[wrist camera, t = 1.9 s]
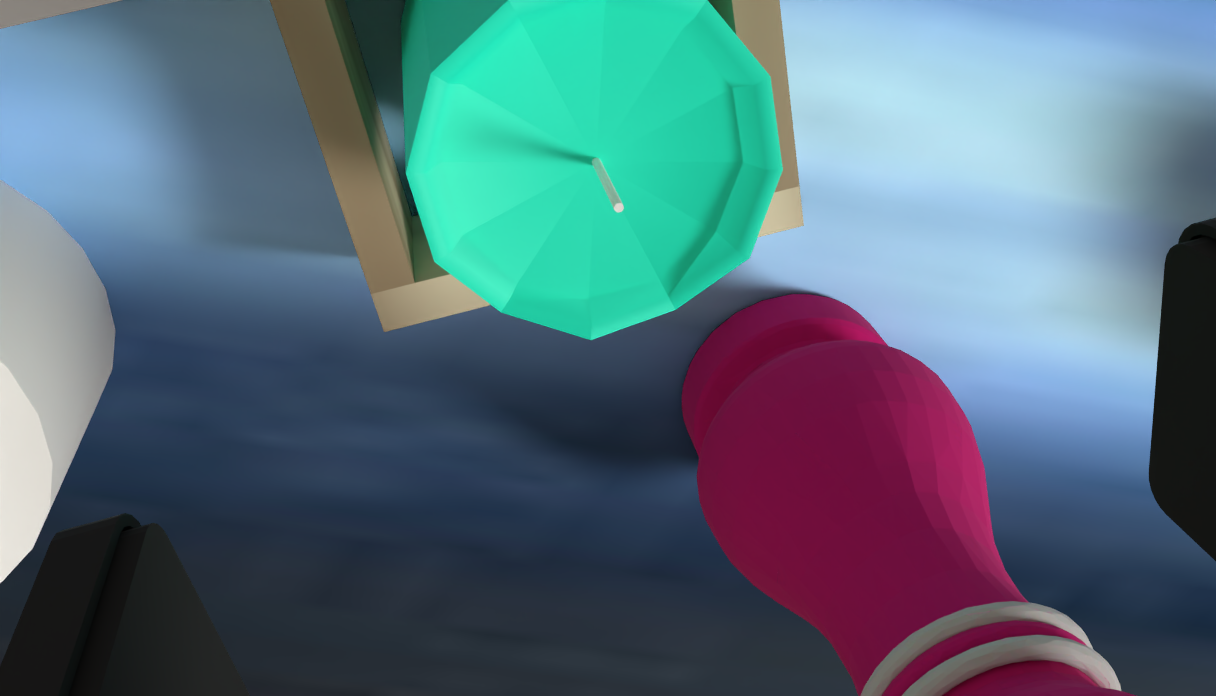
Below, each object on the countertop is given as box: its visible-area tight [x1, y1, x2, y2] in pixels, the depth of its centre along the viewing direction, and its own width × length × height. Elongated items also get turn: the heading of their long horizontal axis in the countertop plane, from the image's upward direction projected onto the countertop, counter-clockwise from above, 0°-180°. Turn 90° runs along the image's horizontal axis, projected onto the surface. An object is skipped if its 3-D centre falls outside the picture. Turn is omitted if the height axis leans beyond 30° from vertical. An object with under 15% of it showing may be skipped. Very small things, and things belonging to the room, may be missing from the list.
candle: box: [401, 0, 783, 340], centre depth 21 cm, size 6×6×12 cm
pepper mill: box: [682, 294, 1135, 696], centre depth 24 cm, size 7×7×20 cm
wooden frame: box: [270, 0, 804, 332], centre depth 24 cm, size 10×10×4 cm
